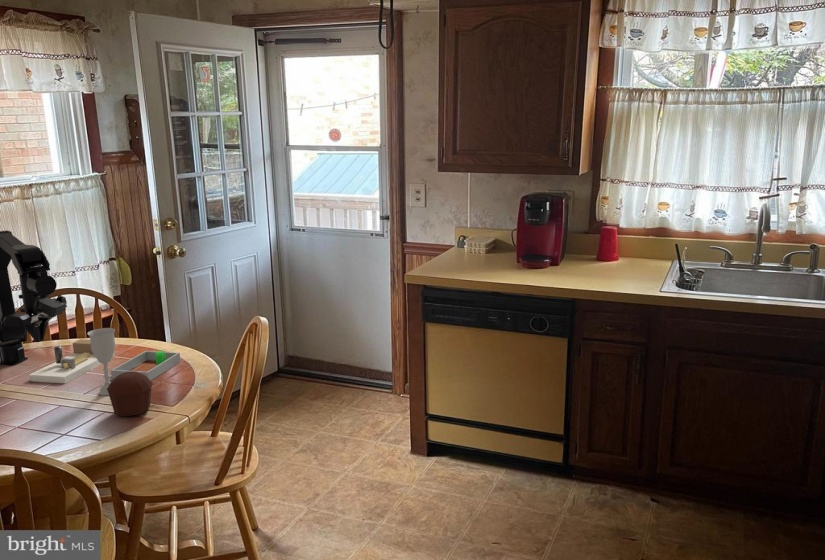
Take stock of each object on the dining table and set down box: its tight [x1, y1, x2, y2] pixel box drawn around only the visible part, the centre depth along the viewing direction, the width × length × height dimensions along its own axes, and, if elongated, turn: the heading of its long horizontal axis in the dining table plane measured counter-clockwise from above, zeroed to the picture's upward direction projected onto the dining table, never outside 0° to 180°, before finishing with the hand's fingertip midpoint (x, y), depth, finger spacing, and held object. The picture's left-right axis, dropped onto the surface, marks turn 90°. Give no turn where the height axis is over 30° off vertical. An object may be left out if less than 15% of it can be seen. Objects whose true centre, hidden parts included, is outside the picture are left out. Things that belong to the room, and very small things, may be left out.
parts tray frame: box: [110, 350, 181, 381], centre depth 210 cm, size 12×18×3 cm
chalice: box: [87, 327, 116, 396], centre depth 191 cm, size 7×7×18 cm
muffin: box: [107, 370, 153, 417], centre depth 180 cm, size 12×11×10 cm
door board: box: [28, 338, 116, 384], centre depth 212 cm, size 12×24×6 cm, turn 169°
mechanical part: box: [155, 350, 165, 367], centre depth 215 cm, size 12×6×8 cm, turn 14°
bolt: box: [53, 345, 90, 368], centre depth 211 cm, size 6×10×6 cm, turn 169°
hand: (39, 341), depth 201 cm, fingers closed
